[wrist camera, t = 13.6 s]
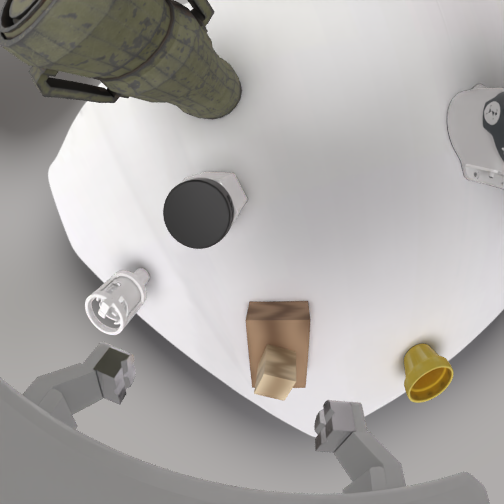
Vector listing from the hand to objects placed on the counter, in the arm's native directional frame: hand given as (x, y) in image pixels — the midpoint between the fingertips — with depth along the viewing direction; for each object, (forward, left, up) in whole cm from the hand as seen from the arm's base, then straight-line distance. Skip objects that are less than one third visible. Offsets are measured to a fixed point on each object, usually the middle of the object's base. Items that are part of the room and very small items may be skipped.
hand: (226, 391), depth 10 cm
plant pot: (-38, +22, -34) cm, 56 cm away
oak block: (-7, +23, -28) cm, 37 cm away
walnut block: (-7, +23, -34) cm, 42 cm away
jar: (+8, 0, -34) cm, 35 cm away
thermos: (+12, -16, -34) cm, 40 cm away
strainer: (+20, +17, -34) cm, 43 cm away
